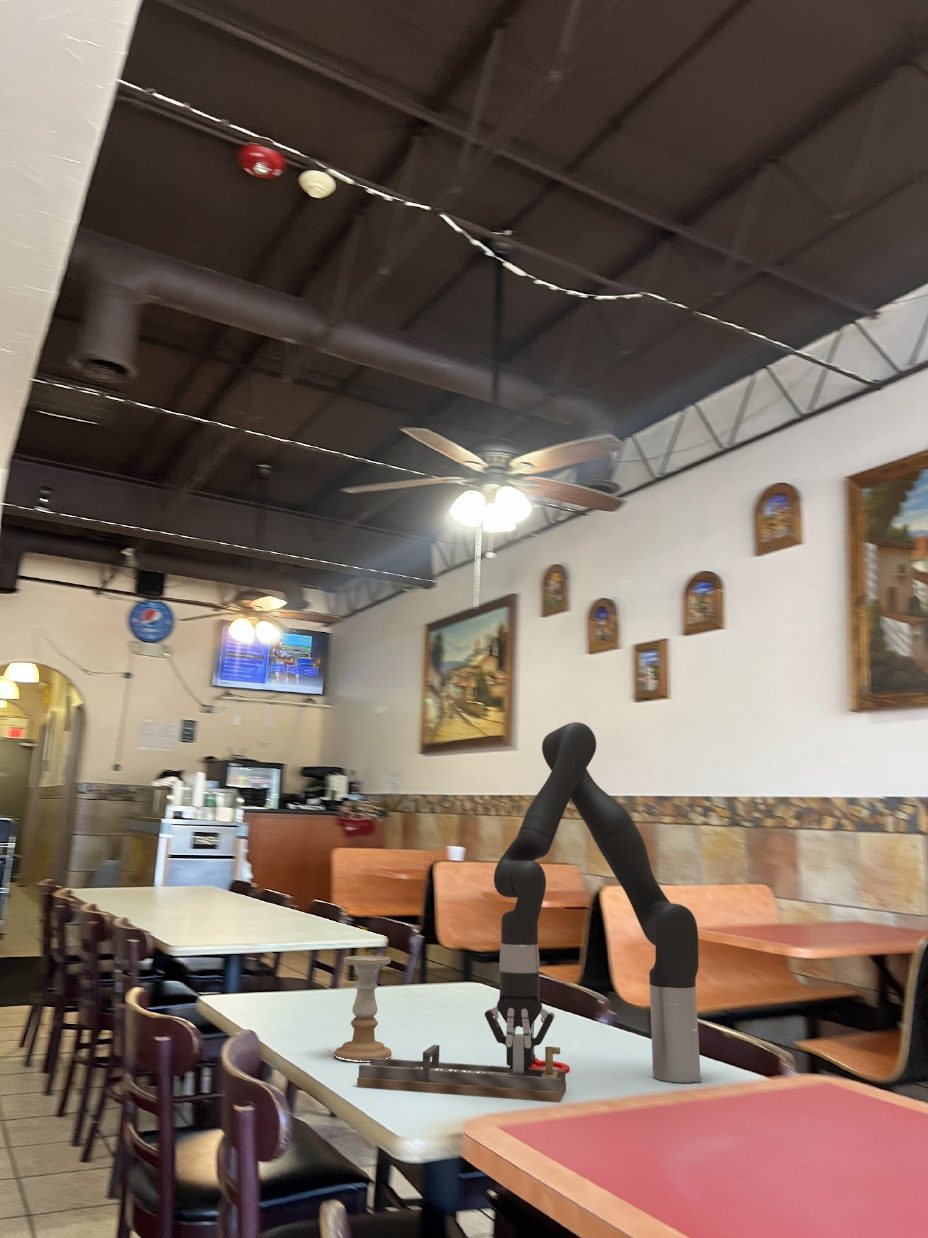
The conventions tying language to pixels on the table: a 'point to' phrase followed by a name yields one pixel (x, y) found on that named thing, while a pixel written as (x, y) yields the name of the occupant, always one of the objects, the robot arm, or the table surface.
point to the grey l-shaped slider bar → (517, 1058)
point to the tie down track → (464, 1078)
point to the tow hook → (542, 1063)
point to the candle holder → (364, 1012)
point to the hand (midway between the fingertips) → (519, 1068)
